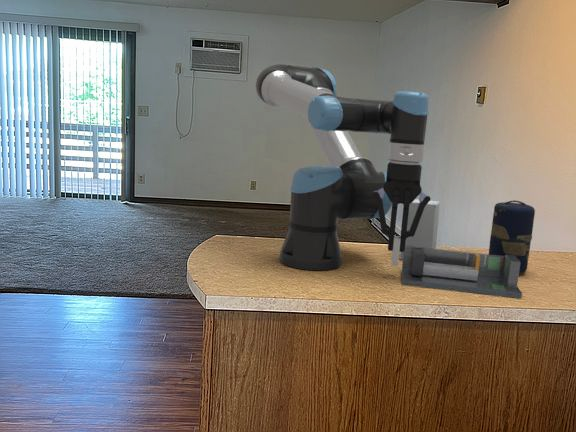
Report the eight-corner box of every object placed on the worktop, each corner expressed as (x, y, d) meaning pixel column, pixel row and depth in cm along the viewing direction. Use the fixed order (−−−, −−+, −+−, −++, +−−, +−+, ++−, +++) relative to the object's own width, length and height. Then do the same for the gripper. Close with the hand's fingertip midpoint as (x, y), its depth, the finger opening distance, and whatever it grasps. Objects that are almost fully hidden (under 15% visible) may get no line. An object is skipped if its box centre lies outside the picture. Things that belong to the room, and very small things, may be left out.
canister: (529, 278, 136) (540, 205, 133) (489, 273, 138) (498, 201, 135) (521, 268, 146) (531, 199, 142) (483, 264, 147) (492, 196, 144)
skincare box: (435, 259, 149) (442, 201, 146) (430, 264, 143) (437, 204, 140) (403, 254, 152) (410, 197, 149) (397, 259, 146) (404, 200, 144)
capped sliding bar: (411, 274, 127) (414, 250, 126) (411, 269, 132) (413, 245, 131) (477, 282, 124) (481, 257, 123) (474, 276, 129) (478, 252, 128)
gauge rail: (402, 284, 124) (405, 253, 123) (401, 270, 136) (404, 241, 134) (521, 298, 120) (526, 265, 118) (510, 282, 131) (514, 252, 130)
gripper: (374, 161, 123) (365, 265, 127) (436, 166, 121) (424, 272, 125) (376, 159, 130) (367, 257, 134) (433, 163, 128) (422, 263, 132)
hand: (394, 264), depth 130 cm, fingers closed
